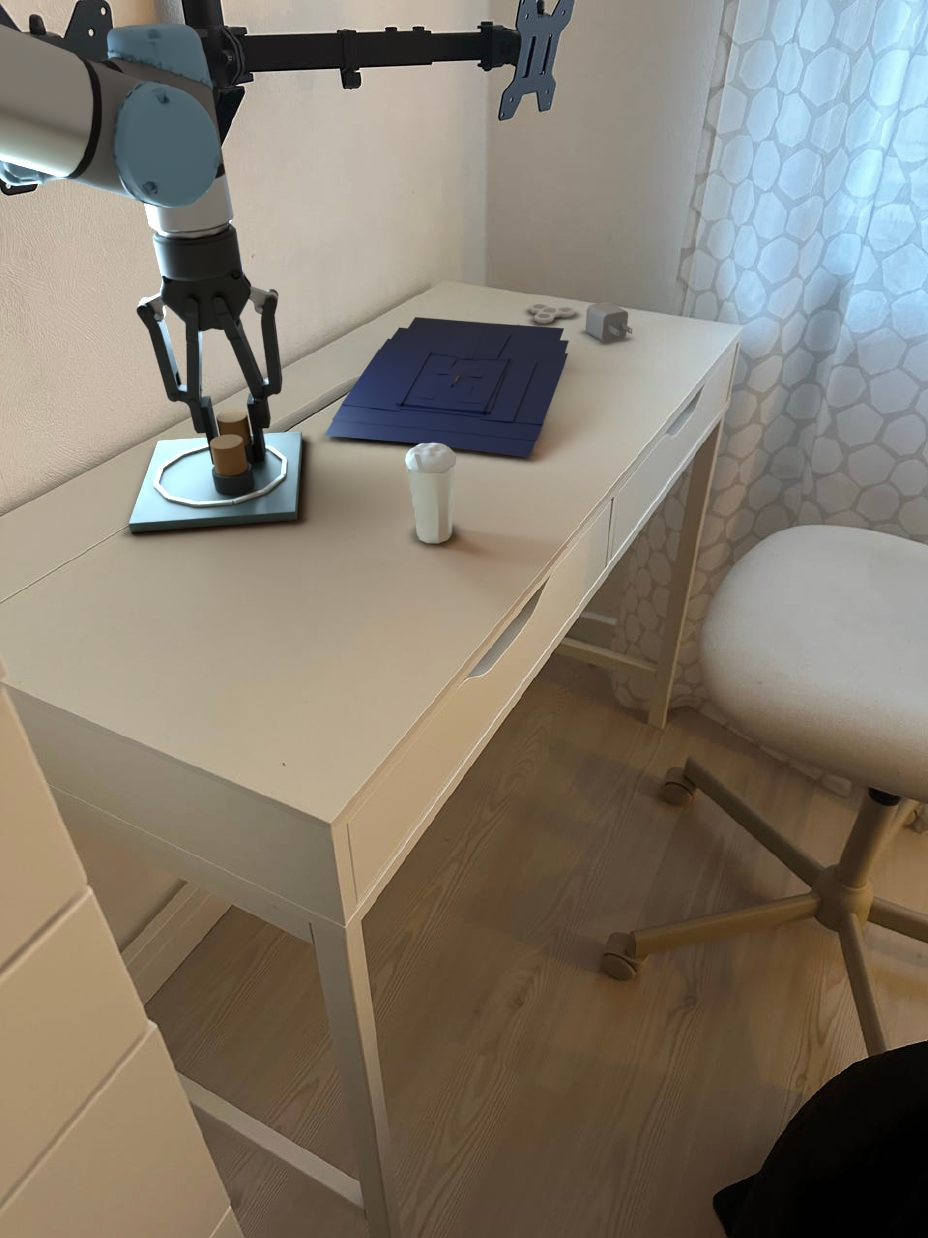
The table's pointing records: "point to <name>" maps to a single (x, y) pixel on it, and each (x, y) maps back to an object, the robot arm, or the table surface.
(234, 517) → the slate board
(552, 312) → the fidget spinner
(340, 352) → the table surface
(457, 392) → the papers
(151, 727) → the table surface
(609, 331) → the usb wall charger
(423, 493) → the milkshake
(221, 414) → the stamp
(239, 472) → the stamp
